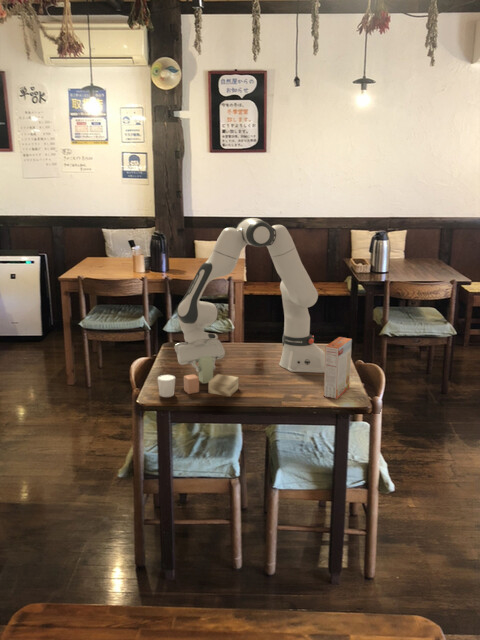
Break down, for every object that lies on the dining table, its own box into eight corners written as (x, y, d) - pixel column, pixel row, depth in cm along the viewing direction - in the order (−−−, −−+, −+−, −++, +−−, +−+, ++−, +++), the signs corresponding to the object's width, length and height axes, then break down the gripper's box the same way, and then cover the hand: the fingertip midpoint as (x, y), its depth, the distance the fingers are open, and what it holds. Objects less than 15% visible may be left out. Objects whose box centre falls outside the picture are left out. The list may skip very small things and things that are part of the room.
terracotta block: (194, 388, 245) (194, 374, 244) (199, 392, 242) (198, 377, 240) (183, 390, 243) (183, 375, 242) (188, 394, 240) (188, 379, 238)
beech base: (238, 389, 246) (238, 377, 245) (229, 397, 238) (229, 384, 236) (217, 385, 249) (217, 374, 248) (208, 393, 241) (208, 381, 240)
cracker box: (335, 385, 250) (338, 336, 245) (349, 388, 247) (353, 338, 242) (322, 396, 239) (324, 345, 233) (336, 399, 236) (339, 347, 230)
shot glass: (172, 398, 235) (172, 381, 233) (155, 396, 236) (154, 379, 234) (177, 391, 242) (177, 375, 240) (161, 390, 243) (160, 373, 241)
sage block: (208, 378, 256) (208, 355, 253) (213, 381, 252) (213, 358, 250) (198, 380, 254) (198, 357, 251) (203, 383, 250) (203, 360, 248)
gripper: (175, 340, 250) (184, 370, 244) (220, 333, 259) (230, 362, 253) (171, 347, 255) (180, 377, 249) (215, 341, 264) (225, 369, 258)
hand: (206, 370), depth 251 cm, fingers open, 5 cm apart
